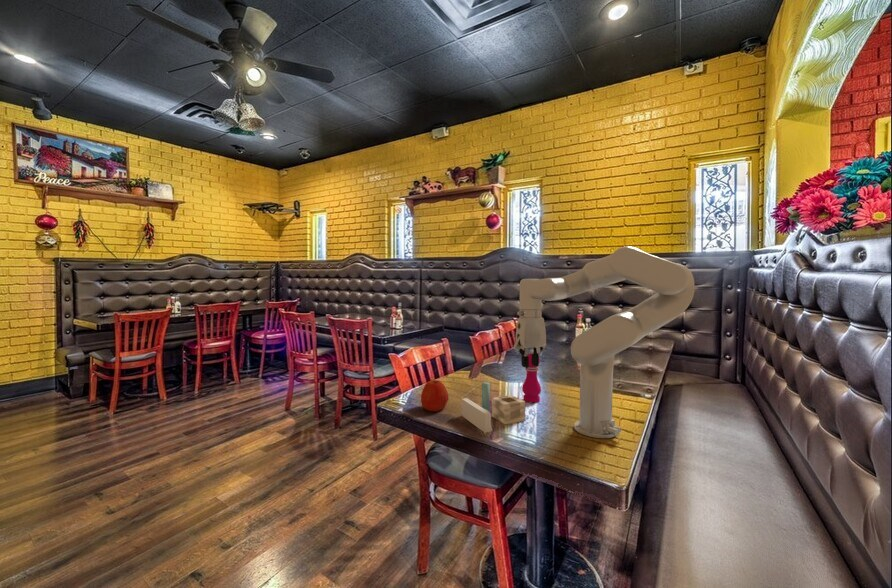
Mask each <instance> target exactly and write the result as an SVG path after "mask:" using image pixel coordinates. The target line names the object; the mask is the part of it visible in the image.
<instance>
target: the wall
mask: <svg viewBox="0 0 892 588" xmlns="http://www.w3.org/2000/svg"><path fill="white" fill-rule="evenodd" d="M461 417H462V418H464V419H466V421H468V422H470V423H471V424H472V425H473V426H475V427H477V428H478V429H479V430H480V431H482V432H483V433H484V434H486V433H487V432H488V433H491V432H492V412H490V411H487V410H485V409H484V408H482V406H480V405H479V404H477V403H475V402H474V401H472V400H471V399H469V398H468V397H465V398H461Z"/></svg>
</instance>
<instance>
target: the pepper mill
mask: <svg viewBox="0 0 892 588" xmlns="http://www.w3.org/2000/svg"><path fill="white" fill-rule="evenodd" d="M532 354H533V349H530V350H529V353H528V354H527V356H529V367H528V368H525V367H524V368H525V369H524V370H525V371H526V376H525V379H524V382H523V384H522V386H521V387H522V389H521V390H522V393H523V395H522V396H523V399H522V400H523V401H526V402H525V403H528V402H532V403H531V404H534V403H533V402H537V403H539V402H541V401H540V399H541V398H540V397H541V396H540V394H541V393H542V387H541V384H540V382H539V379H538V371H539V366H538V367H536V366H533V365H532ZM540 361H541V360H540V358H539V364H540Z"/></svg>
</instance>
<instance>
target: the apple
mask: <svg viewBox="0 0 892 588" xmlns="http://www.w3.org/2000/svg"><path fill="white" fill-rule="evenodd" d="M420 394H421V395H420V403H421V406H422V408H423V409H424V410H425V411H428V412H438V411H439V412H440V411H442V410H443V409H445V407H446V406H447V404H448V401H449V393H448V390H447V388H446V386H445V384H444V383H443V382H442V381H440V380H437V379H433V380H428V381H427V382H426V383H425V384H424V387H423V388H422V391H421V393H420Z"/></svg>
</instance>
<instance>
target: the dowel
mask: <svg viewBox="0 0 892 588" xmlns="http://www.w3.org/2000/svg"><path fill="white" fill-rule="evenodd" d="M490 384H491V383H490V382H487V381H483V382H482V383H481V407H482V408H484V409H485V410H487V411H489V412H490V410H491V409H490V407H491V406H490V405H491V403H490V401H491V400H490V397H491V396H490V395H491V394H490V393H491V392H490V391H491V390H490V389H491V386H490Z"/></svg>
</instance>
